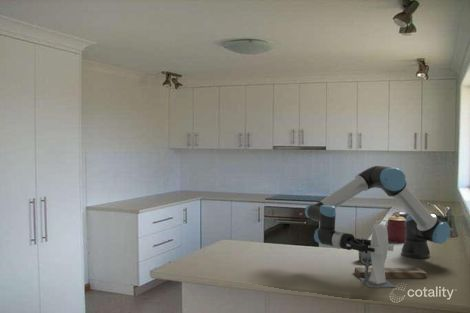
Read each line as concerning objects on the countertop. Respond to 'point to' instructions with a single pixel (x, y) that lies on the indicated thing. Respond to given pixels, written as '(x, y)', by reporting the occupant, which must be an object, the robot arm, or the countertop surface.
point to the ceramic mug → (365, 257)
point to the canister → (396, 228)
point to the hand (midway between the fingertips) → (387, 249)
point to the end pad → (378, 285)
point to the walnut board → (395, 272)
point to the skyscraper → (378, 255)
